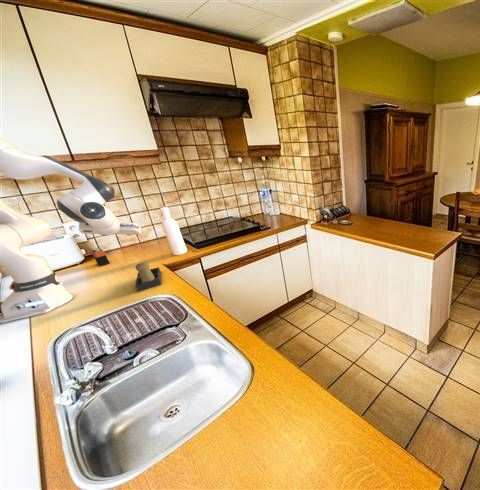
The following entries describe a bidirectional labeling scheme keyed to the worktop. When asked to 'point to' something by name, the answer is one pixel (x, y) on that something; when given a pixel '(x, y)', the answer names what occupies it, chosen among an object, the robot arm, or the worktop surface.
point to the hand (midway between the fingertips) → (117, 234)
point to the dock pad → (146, 285)
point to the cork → (145, 272)
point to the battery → (100, 256)
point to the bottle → (173, 233)
